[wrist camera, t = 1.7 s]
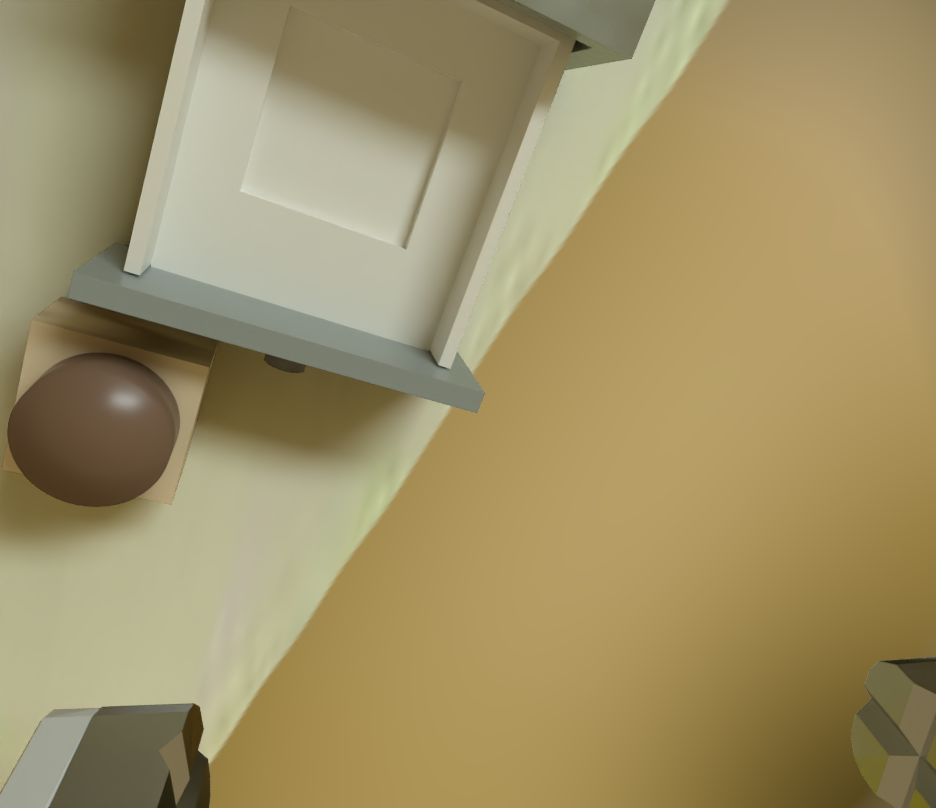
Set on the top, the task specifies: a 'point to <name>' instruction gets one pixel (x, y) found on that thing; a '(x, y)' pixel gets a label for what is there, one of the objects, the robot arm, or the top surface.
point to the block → (151, 344)
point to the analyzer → (592, 26)
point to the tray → (335, 182)
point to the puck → (94, 430)
